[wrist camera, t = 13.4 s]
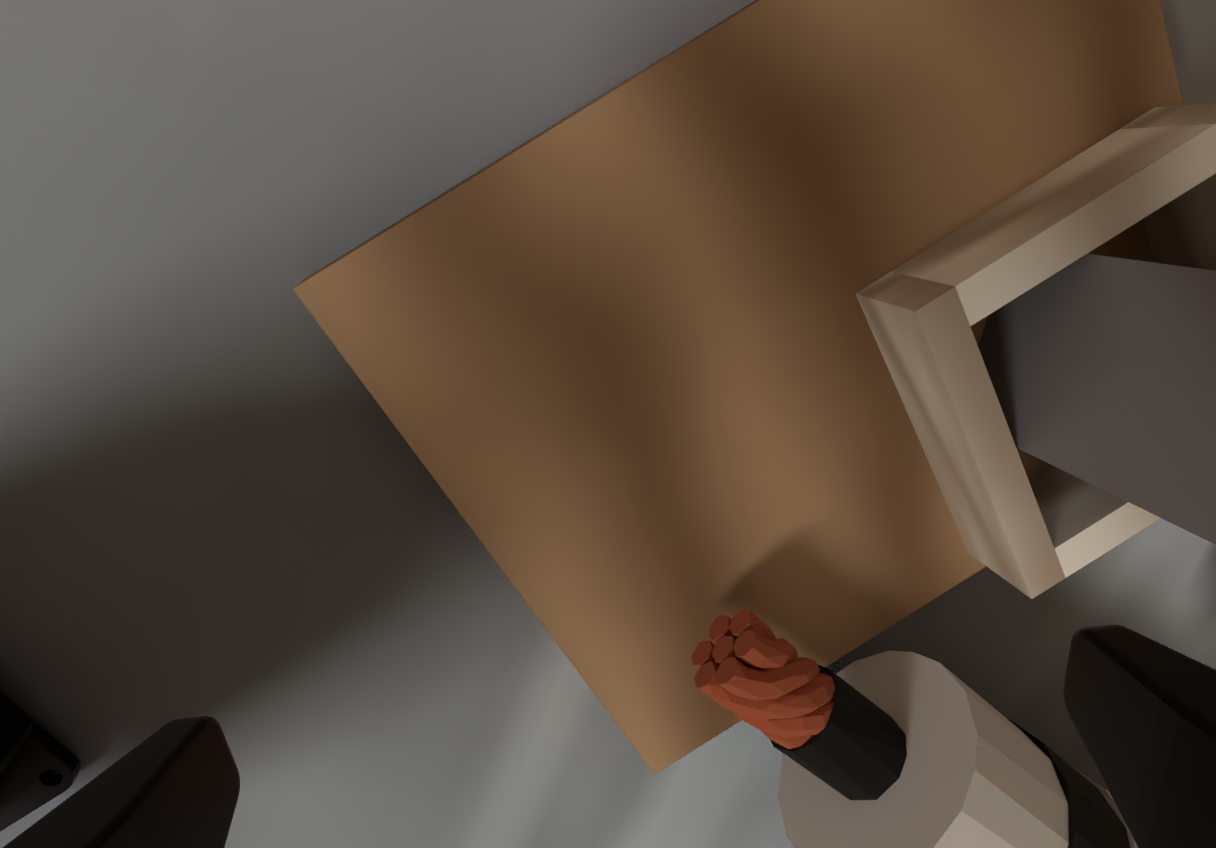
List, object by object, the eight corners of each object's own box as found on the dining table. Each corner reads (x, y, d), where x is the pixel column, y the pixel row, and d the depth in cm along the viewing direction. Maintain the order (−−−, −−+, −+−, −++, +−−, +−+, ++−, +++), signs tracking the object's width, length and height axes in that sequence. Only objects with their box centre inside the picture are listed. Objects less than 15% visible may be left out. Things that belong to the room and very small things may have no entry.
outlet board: (641, 738, 23) (680, 846, 20) (304, 279, 17) (267, 309, 14) (1203, 385, 23) (1347, 427, 20) (1056, -186, 18) (1223, -281, 14)
